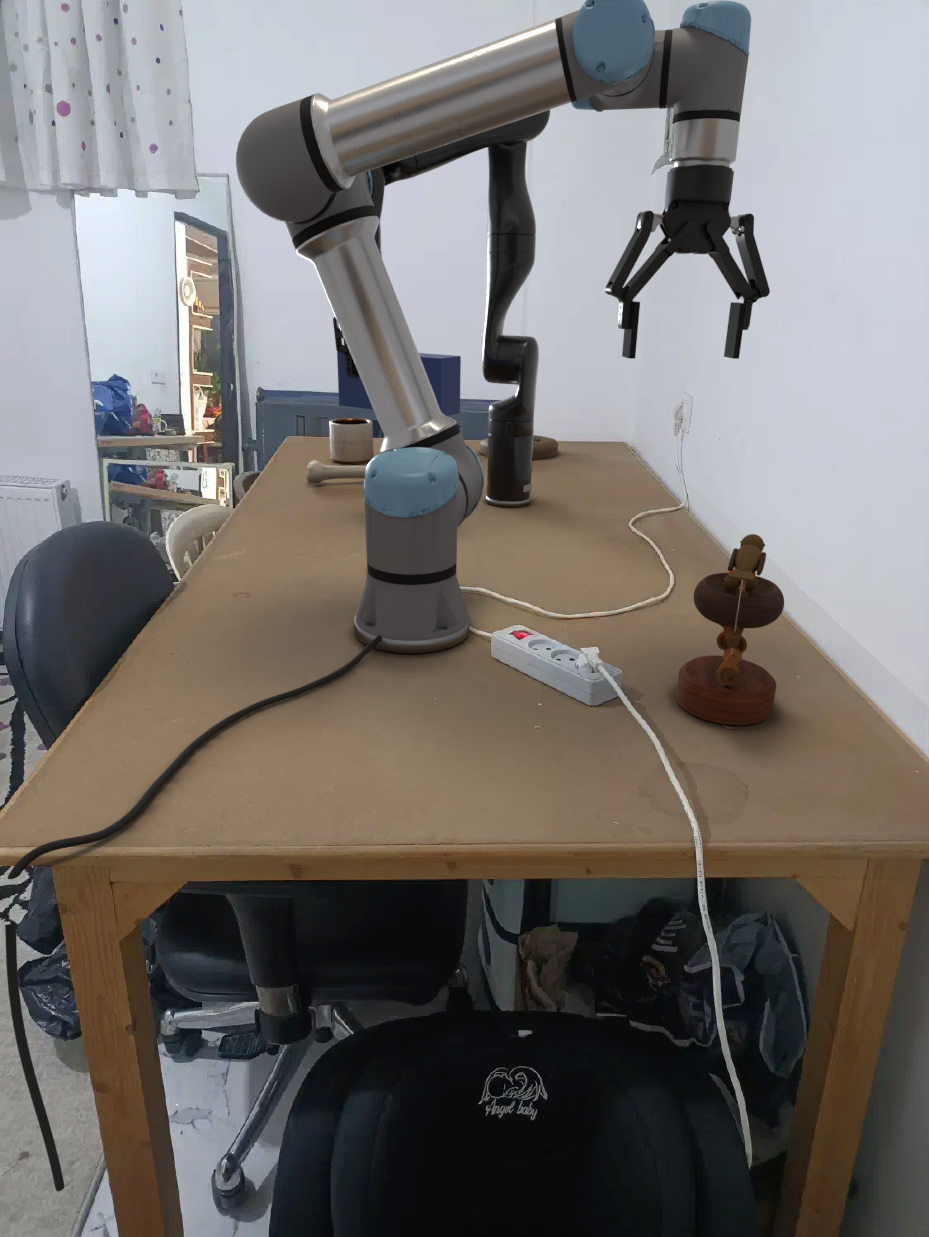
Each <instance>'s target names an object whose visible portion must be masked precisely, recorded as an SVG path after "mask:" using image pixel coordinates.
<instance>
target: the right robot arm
mask: <svg viewBox="0 0 929 1237" xmlns="http://www.w3.org/2000/svg"><path fill="white" fill-rule="evenodd" d="M550 116H551V109H550V110H547V111H544V112H541V113H538V114H535V115H533V116H530V117H527V118H524V119H521V120H518V121H515V122H512V123H509V124H506V125H503V126H500V127H497V128H494V129H491V130H488V131H485V132H482V133H479V134H476V135H473V136H470V137H467V138H464V139H461V140H459V141H456V142H453V143H450V144H447V145H444V146H441V147H438V148H435V149H432V150H429V151H426V152H423V153H420V154H417V155H414V156H411V157H408V158H405V159H402V160H399V161H396V162H393V163H390V164H388V165H385V166H382V167H379V168H376V169H373V170H370V172H371V178H372V194H371V199H372V201H373V204H374V207H375V209H376V212H377V214H378V217H379V220H380V221H379V224H378V227H377V230H376V233H375V237H374V239H375V242H376V244H377V247H378V250H379V252H380V255H381V257H382V258H383V255H382V228H381V220H382V212H383V206H384V198H385V187H387V186H389V185H391V184H394V183H396V182H400V181H406V180H409V179H412V178H416V177H419V176H420V175H421V176H422V175H424V174H426V173H428V172H431V171H433V170H436V169H439V168H441V167H443V166H445V165H448V164H450V163H452V162H454V161H456V160H459V159H461V158H464V157H466V156H468V155H470V154H472V153H475V152H478V151H480V150H483V149H486V150H487V160H488V163H487V164H488V189H487V190H488V191H487V192H488V195H487V224H486V298H485V299H486V300H485V313H484V314H485V315H484V329H483V338H482V350H481V352H482V353H481V369H482V374H483V378H484V380H485V381H486V382H487V383H490V384H500V385H501V384H502V385H517V388H516V392H515V393H514V394H512V395H510V396H509V397H506V398H504V399H500V400H497V401H494V402H492V403H491V404H489V407H488V416H487V417H488V419H487V420H488V424H487V435H488V436H487V438H488V456H487V458H486V459H487V461H486V462H487V467H486V495H485V502H486V503H488V504H489V505H493V506H497V507H510V508H511V507H512V508H513V507H522V506H528V505H529V504H530V503H531V501H532V500H531V498H532V497H531V491H532V489H533V483H532V470H533V459H532V451H533V435H534V427H535V426H534V424H535V406H536V394H537V381H538V372H539V362H540V361H539V360H540V349H539V348H540V347H539V343H538V341H537V339H536V338H535V337H533V336H529V335H511V334H509V335H508V334H506V335H505V334H504V327H505V321H506V317H507V314H508V312H509V310H510V307H511V305H512V304H513V301H514V300H515V298H516V296H517V294H518V293H519V292H520V290H521V289H522V287H523V286H524V284H525V282H526V281H527V279H528V277H529V276H530V274H531V272H532V270H533V268H534V265H535V262H536V246H537V245H536V244H537V243H536V242H537V222H536V216H535V212H534V208H533V205H532V204H533V203H532V200H531V197H530V193H529V188H528V184H527V177H526V176H527V175H526V162H527V150H528V149H527V147H528V142H531V141H533V140H534V139H536V138H538V136H540V135H541V134H542V133H543V131H544V130H545V129H546V127H547V125H548V123H549V120H550ZM332 323H333V333H334V341H335V349H336V352H337V351H338V352H342V353H343V354H344V355H345V359H346V373H347V376H348V377H358V375H359V373H358V370H357V368H356V366H355V363H354V361H353V358H352V356H351V353H350V351H349V348H348V346H347V344H346V341H345V339H344V336H343V334H342V331H341V329H340V326H339V324H338V322H337V319H336V317H335V316H333V318H332Z"/></svg>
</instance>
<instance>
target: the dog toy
mask: <svg viewBox="0 0 929 1237" xmlns="http://www.w3.org/2000/svg"><path fill="white" fill-rule="evenodd" d="M366 467H367V465H329V464H328V465H327V464H324V463H322V462H320V461H319V460H317V459H314V460H311V461H310V462H308V464H307V466H306V474H305V477H306V482H307V483H309V484H319V483H321V482H324V481H328V480H329V481H330V480H339V479H342V480H343V479H345V480H346V479H365V470H366Z"/></svg>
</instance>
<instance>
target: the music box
mask: <svg viewBox="0 0 929 1237" xmlns="http://www.w3.org/2000/svg"><path fill="white" fill-rule="evenodd" d="M741 539H742V540H740V541H739V543H740V544H739V545H740V547H739V548H737V547H735V548H733V550H732V552H731V556H730V559H729V562H728V565H727V571H728V572H717V573H716V572H715V573H712V574H708V575H707V576H705V577H703V578H702V579H701V580H700V581H699V582H698V583H697V584H696V586H695V588H694V592H693V603H694V606H695V608H696V610H697V611H698V613H699V614H700V615H701V616H702V617H703V618H705V619H706V620H708V621H710V622H712V623H715V624H717V625H719V626H720V627H722V628H723V630H722V631H721V632H719V633H718V635H717V637H716V645H717V647H718V649H720V650H722V651H723V653H722V655H702V656H698V657H694V658H693V659H690V660H689V661H687V662H685V663H684V664H682V666H680V668H679V670H678V678H677V685H676V694H675V699H676V702H677V703H678V705H679V706H680V707H681V708H682V709H683V710H684V711H686V712H687V713H689V714H691V715H692V716H694V717H696V718H699V719H701V720H705V721H707V722H712V723H716V724H721V725H729V726H746V725H748V726H749V725H753V724H758V723H760V722H763V721H765V720H767V719H769V717H770V716H771V715H772V713H773V708H774V702H775V697H776V692H777V681H776V680H775V678H774V677H773V676H772V674H770V672H768V670H766V668H764V667H763V666H760V665H759V664H757V663H755V662H752V661H750V660H746V659H743V653H745V652H746V651H747V648H748V641H747V639H746V638H745V637H744V636H743V633H744V630H745V629H758V628H759V629H760V628H763V627H766V626H769V625H771V624H772V623H775V621H777V620H778V618H779V617H780V616H781V615H782V613H783V610H784V608H785V607H784V606H785V597H784V594H783V591H782V590H781V588H780V587H779V586H778V585H777V584H776V583H775V582H773V581H771V580H770V579H767V578H764V577H761V575H762V573H763V571H764V568H765V564H766V560H767V552H766V551H764V549H765V547H766V543H765V542H764V539H763V538H762V537H761V536H760V535H758V534H755V533H750V534H747V535H745V536H744V537H742V538H741Z"/></svg>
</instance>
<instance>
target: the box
mask: <svg viewBox="0 0 929 1237" xmlns="http://www.w3.org/2000/svg"><path fill="white" fill-rule="evenodd" d="M418 353H419V356H420V358H421V361H422V363H423V366H424V369H425V371H426V374H427V376H428V379H429V382H430V384H431V387H432V389H433V392H434V394H435V397H436V400H437V402H438V405H439V407H440V410H441V412H442V413H443V414H444V415H446V416H448V417H450V416H453V415H459V414H460V413H461V371H462V370H461V367H462V366H461V364H462V362H461V361H462V357H461V355H451V354H441V353H440V354H439V353H426V352H425V353H424V352H418ZM336 356H337V357H336V358H337V359H336V360H337V386H338V388H337V390H338V406H340V407H348V408H356V409H363V410H364V409H365V410H373V407H372V405H371V402H370V400H369V397H368V395H367V392H366V390H365V388H364V385H363V383H362V380H361V378H360V375H358V377H348V376H347V373H346V359H345V355H344V354H343V353H342V352H338V351H337V350H336Z"/></svg>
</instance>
